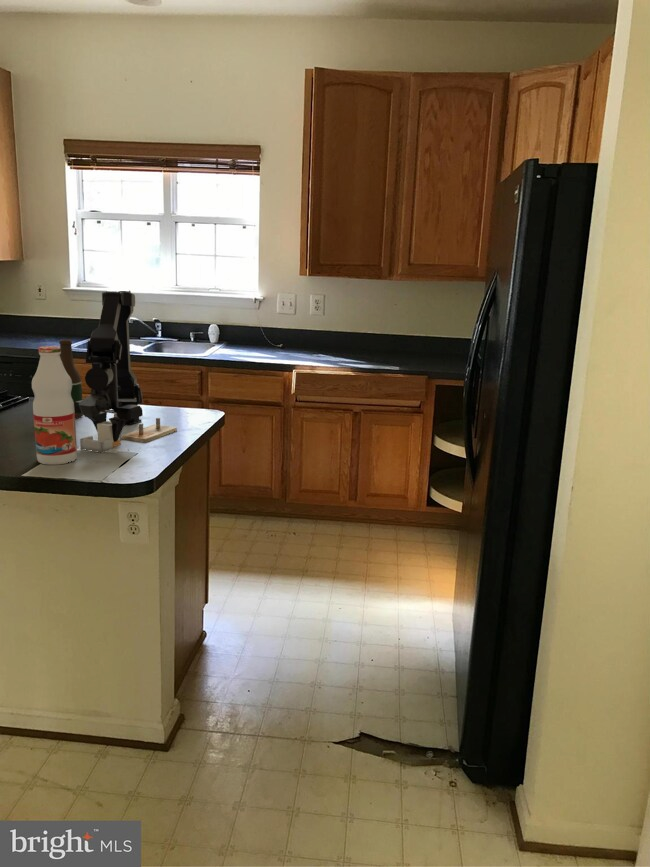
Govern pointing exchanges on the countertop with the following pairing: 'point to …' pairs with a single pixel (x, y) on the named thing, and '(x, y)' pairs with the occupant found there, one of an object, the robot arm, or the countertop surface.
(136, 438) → the pin board
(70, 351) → the beer bottle
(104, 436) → the sleeve
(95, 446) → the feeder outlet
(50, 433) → the fruit juice
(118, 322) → the robot arm
